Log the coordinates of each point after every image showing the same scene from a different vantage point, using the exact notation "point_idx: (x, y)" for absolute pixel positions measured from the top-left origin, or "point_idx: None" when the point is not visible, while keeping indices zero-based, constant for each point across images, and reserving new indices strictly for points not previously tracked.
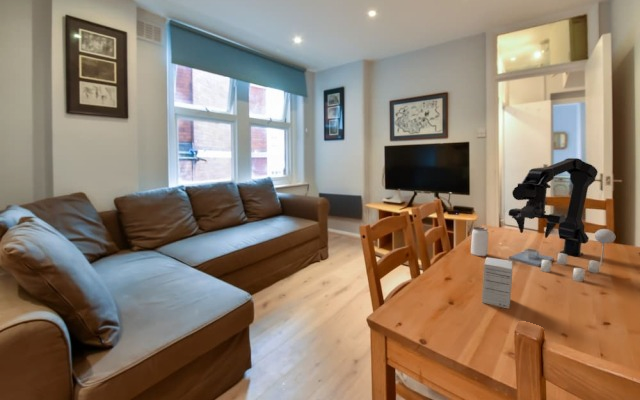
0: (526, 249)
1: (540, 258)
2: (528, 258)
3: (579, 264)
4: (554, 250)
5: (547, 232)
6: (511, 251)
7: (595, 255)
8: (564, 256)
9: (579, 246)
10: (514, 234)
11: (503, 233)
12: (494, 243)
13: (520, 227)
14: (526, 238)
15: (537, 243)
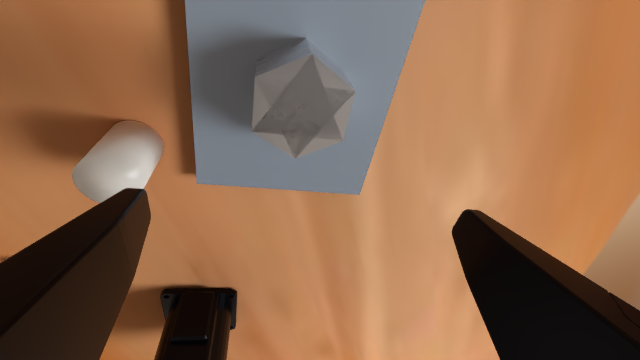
0: (344, 111)
1: (244, 109)
2: (303, 37)
3: (81, 200)
4: (266, 301)
5: (29, 254)
6: (425, 160)
7: (138, 339)
8: (83, 159)
9: (157, 351)
10: (429, 355)
11: (466, 344)
12: (509, 226)
13: (543, 264)
14: (388, 347)
15: (344, 328)
